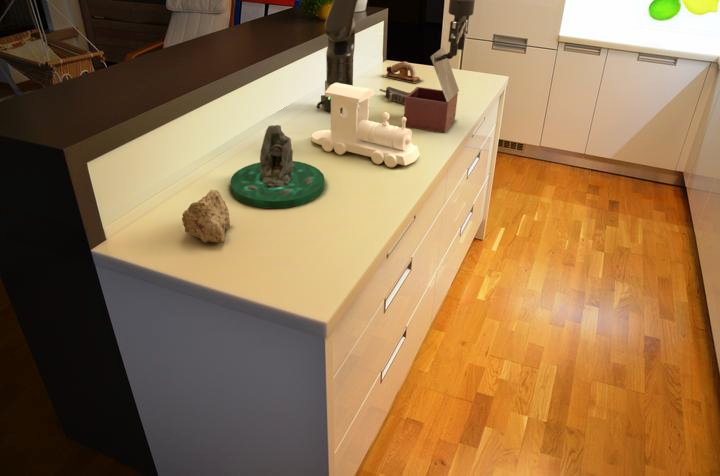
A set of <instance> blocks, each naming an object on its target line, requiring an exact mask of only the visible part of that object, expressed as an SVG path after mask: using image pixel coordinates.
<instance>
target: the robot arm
mask: <svg viewBox="0 0 720 476" xmlns="http://www.w3.org/2000/svg"><path fill="white" fill-rule="evenodd" d="M358 1H359V0H333V1H332V4H331V7H330V10H329V13H328V15H327V16H326V17H327V18H326V20H325V22H324V32H325V34H326V36H327V47H326V48H327V49H326V53H325V54H326V55H325V58H326V59H325V61H326V67H325V68H326V71H325V72H326V80H325V81H324V92H325V91H326V90H327V89H328V88H329V86H330V85H332V84H334V83H341V84H346V85H352V86H354V55H355V45H356V44H355V42H356V21H355V11H356V8H357V5H358ZM475 1H476V0H449V3H448V14H449V15H451V16H453V17H454V18H453V20H451V21H449V22H450V23H449V33H448V39H447V41H448V43H450V44H449V52H450V53H449V52H448V53H449V54H450V55H451V56H454V57H456V56H457V55H458V51H463V50H464V48H465V40H466V37H467V35H468V33H469V23H470V22H469V21H470V17H471V16H473V15H474V10H475ZM321 106H322V107H323V109H325V110H327V111H328V113H331V98H330V97H326V96H325V94H324V95H323V94H322V95H320V101H319V102H318V103H317V104H316V108H317V110H320V109H321ZM342 112H343V107H342V108H341V109H340V113H341V114H342Z"/></svg>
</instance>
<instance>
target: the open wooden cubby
mask: <svg viewBox="0 0 720 476" xmlns="http://www.w3.org/2000/svg"><path fill="white" fill-rule="evenodd" d="M409 93H410V94H408V95H407V96H406V97H405V104H404V111H403V113H404V114H403V117H406V119H407V120H406V123H405V127H406V128H407V127H408V128H413V129H420V130H425V131H431V132H437V133H443V134H445V133H446V132H447V131H448V130H449V128H450V127H451V126H452V125H453V124H454V122H455V121H456V113H457V105H458V95H459V92H458V93H457V94H456V95H455V96H454V97H453V98H452V99H451V100H450V101H449V102H447V101H446V99H445V96H444V93H443V90H442V89H436V88H430V87H429V88H428V87H421V86H416V87H415V88H414V89H412V91H410V92H409Z"/></svg>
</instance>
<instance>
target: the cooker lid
mask: <svg viewBox="0 0 720 476" xmlns="http://www.w3.org/2000/svg"><path fill="white" fill-rule="evenodd" d="M449 53H450V51H448V52H446V49H445V47H444V46H443V47H441V48H440V49H438V50H437V51H435V52H434V53H433V54H431V56H430V60H431V63H432V66H433V68H434V71H435V73H436V76H437V79H438V82H439V84H440V87H441V90H443V93H444V96H445V99H446V101H447V102H449V101H450V100H451V99H452V98H453V97H454V96H455V95H456V94H457V93H458V94H459V92H460V89H459V86H458V84H457V81H456V78H455V75H454V73H453V69H452V67H451V64H450V61H449V60H451V59H453V58H454V57H455V56H451V55H450V54H449Z"/></svg>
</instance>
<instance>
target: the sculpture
mask: <svg viewBox="0 0 720 476" xmlns="http://www.w3.org/2000/svg"><path fill="white" fill-rule="evenodd" d="M415 67H416V66H414V65H413V64H411V63H409V62H408V61H400V62H398V63H395V64H392V65H391V66H386V75H383V76H382V77H384V78H389V79H392V80H393V79H394V80H399V81H403V82H408V83H412V84H417V83H419V82H422V81H423V80H422V79H420V78H421V77H419V76H417V75H416V68H415ZM409 73H410V74H409Z"/></svg>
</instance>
